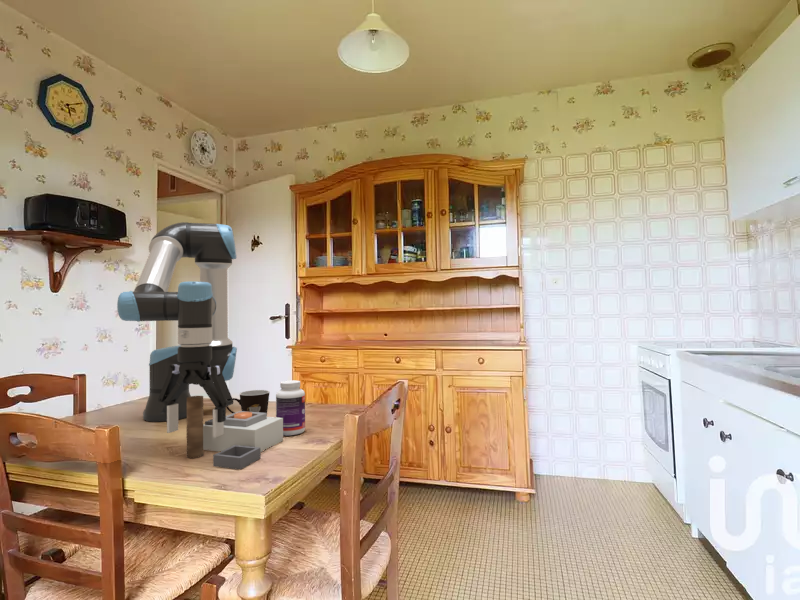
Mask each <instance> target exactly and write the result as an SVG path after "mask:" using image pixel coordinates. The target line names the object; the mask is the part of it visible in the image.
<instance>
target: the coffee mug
mask: <svg viewBox="0 0 800 600" xmlns="http://www.w3.org/2000/svg"><path fill="white" fill-rule="evenodd" d="M232 399H233V401H236V402H238V405H240V411H247V412H261V413H267V414H268V407H269V402H270V401H269V400H270V390H266V389H253V390H246V391H242V392H240V393H239V398H236V397H235V398H234V397H232ZM226 410H227V411H229V412H230V414H233V413H236V412H235V411H233V410H231V408H230V407H229V406H227V407H226Z"/></svg>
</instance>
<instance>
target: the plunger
mask: <svg viewBox="0 0 800 600" xmlns="http://www.w3.org/2000/svg"><path fill="white" fill-rule="evenodd" d="M238 412H239V411H238ZM235 413H236V412H235ZM250 417H252V412H239V413H236V414H234V418H237V419H247V418H250Z"/></svg>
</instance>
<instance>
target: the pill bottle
mask: <svg viewBox="0 0 800 600" xmlns="http://www.w3.org/2000/svg"><path fill="white" fill-rule="evenodd" d="M300 387H301V381H300V380H296V379H295V380H293V379H292V380H291V379H290V380H282V381H280V387H279V388H281V389H279V390H277V392H276V394H275V411H276V412H275V417H278V418H283V436H285V437H286V436H287V437H288V436H297V435H299V434H300V435H301V434H302V433H303V432H305V430H306V393H305V390H303V389H302V388H300Z"/></svg>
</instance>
